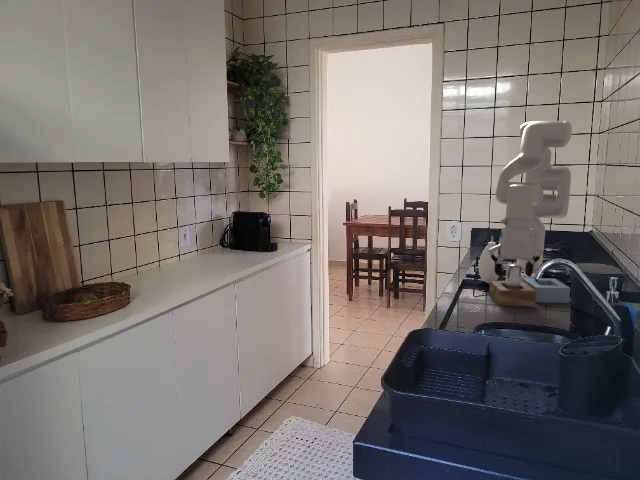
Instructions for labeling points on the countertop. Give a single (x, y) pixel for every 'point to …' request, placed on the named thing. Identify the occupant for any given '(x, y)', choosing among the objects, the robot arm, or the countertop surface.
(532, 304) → the walnut mount
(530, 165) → the robot arm
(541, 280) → the socket block
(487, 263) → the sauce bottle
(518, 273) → the steel pin
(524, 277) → the mechanical component
